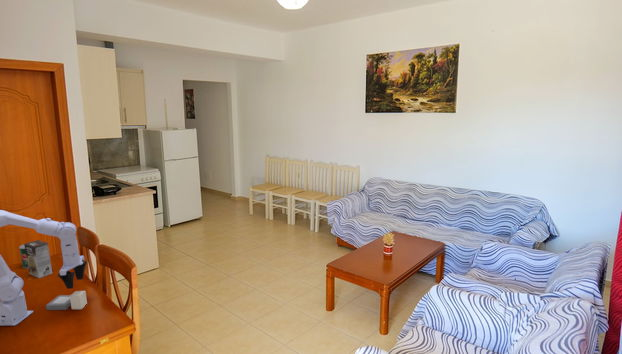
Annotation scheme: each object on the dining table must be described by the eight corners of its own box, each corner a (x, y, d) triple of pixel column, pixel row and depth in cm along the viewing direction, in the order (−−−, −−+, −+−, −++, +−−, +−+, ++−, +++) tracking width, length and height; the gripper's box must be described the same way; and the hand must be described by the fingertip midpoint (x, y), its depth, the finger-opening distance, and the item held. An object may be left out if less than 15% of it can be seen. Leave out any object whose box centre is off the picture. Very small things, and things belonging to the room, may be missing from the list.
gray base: (66, 309, 151) (65, 305, 151) (46, 309, 151) (45, 305, 151) (78, 299, 159) (77, 295, 158) (59, 299, 159) (59, 295, 158)
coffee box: (28, 274, 182) (23, 243, 179) (43, 269, 188) (38, 239, 185) (38, 278, 178) (33, 247, 175) (53, 273, 184) (48, 242, 181)
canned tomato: (38, 260, 198) (35, 241, 196) (43, 264, 194) (40, 244, 191) (20, 265, 192) (17, 245, 190) (25, 269, 188) (21, 249, 185)
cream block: (81, 309, 151) (79, 295, 150) (71, 309, 151) (69, 295, 150) (87, 304, 155) (85, 290, 154) (77, 304, 155) (75, 290, 154)
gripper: (70, 259, 143) (75, 291, 146) (89, 245, 158) (94, 275, 160) (51, 260, 143) (57, 292, 146) (72, 246, 157) (77, 275, 160)
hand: (75, 283), depth 153 cm, fingers open, 7 cm apart
